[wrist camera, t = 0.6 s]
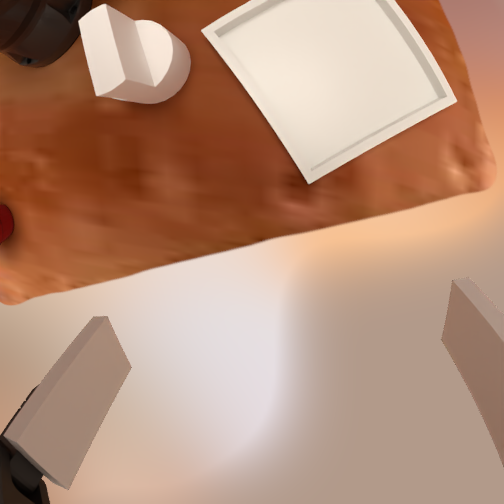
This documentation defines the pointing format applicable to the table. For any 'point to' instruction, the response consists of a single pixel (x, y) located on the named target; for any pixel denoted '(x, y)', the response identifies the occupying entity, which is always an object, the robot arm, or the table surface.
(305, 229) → the table surface
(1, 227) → the plastic cup
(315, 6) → the tray
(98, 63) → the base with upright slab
